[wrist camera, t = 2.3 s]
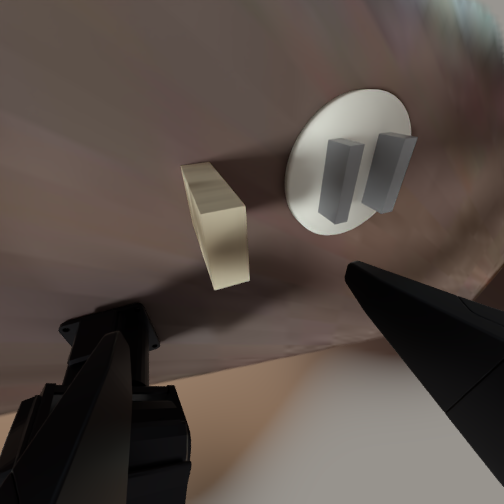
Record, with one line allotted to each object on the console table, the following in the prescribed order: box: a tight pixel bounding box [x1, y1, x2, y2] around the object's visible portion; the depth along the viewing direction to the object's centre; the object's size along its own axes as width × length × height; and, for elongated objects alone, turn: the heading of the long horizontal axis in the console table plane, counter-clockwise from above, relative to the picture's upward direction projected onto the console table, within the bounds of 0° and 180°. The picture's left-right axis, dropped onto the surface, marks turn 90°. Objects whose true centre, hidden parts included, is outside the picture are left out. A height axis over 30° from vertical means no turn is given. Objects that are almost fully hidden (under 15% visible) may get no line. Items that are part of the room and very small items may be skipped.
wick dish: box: [285, 89, 418, 235], centre depth 19 cm, size 12×12×4 cm
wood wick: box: [181, 162, 250, 290], centre depth 14 cm, size 4×2×8 cm, turn 2°
